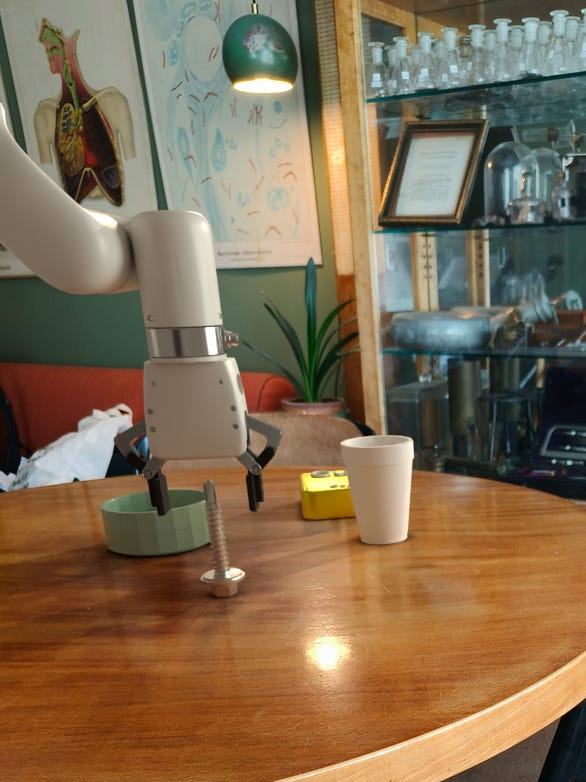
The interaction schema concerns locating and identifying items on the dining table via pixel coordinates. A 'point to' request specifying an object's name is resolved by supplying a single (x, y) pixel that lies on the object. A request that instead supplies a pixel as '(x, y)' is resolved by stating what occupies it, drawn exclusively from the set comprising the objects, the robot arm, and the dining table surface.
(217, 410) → the robot arm
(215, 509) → the screw
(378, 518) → the foam cup
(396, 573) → the dining table surface
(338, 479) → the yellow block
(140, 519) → the bowl
